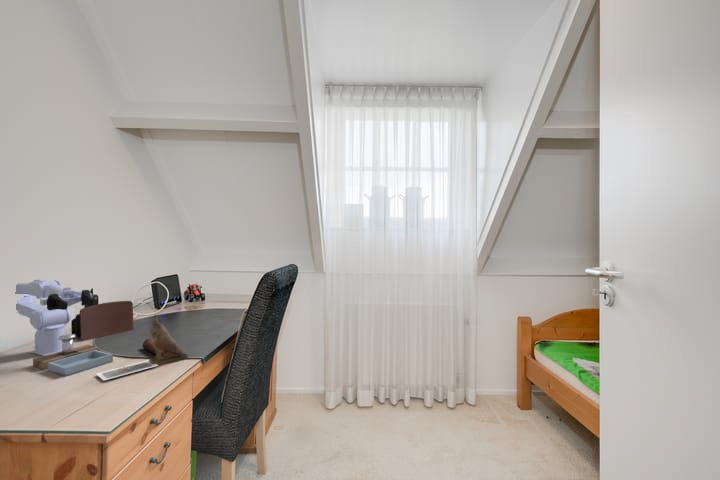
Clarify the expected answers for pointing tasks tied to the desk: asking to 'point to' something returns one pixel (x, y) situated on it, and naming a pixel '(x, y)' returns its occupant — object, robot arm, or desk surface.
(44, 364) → the brown flat block
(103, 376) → the touchpad
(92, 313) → the letter holder
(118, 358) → the desk surface
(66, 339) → the steel pin
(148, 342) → the sunglasses case
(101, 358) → the tray
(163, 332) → the brown carved statuette
